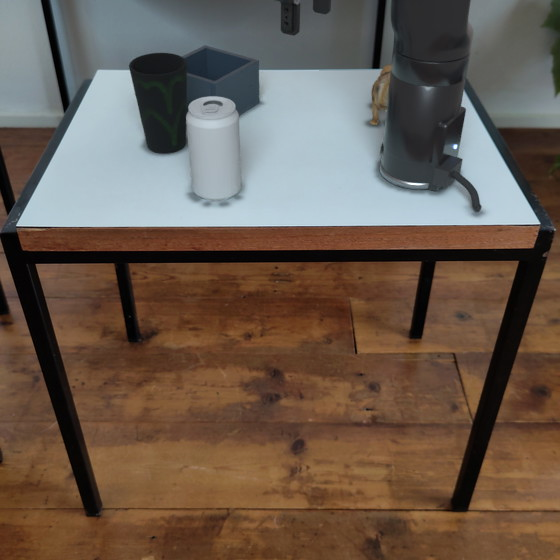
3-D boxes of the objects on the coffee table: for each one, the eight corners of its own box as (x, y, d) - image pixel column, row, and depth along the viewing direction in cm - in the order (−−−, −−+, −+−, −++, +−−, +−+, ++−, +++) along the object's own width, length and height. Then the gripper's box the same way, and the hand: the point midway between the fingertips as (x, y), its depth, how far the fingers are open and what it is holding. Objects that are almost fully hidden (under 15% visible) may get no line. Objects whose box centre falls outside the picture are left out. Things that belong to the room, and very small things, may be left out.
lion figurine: (406, 137, 106) (413, 78, 100) (369, 136, 106) (374, 77, 101) (399, 94, 117) (406, 39, 112) (366, 93, 118) (371, 38, 112)
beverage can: (244, 179, 97) (242, 95, 89) (237, 205, 92) (234, 118, 84) (197, 176, 97) (190, 92, 90) (187, 203, 92) (180, 116, 85)
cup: (129, 151, 102) (117, 70, 95) (155, 128, 108) (145, 49, 100) (178, 161, 100) (170, 78, 93) (202, 136, 106) (196, 56, 98)
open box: (259, 103, 115) (259, 60, 110) (217, 128, 108) (215, 84, 104) (207, 86, 119) (204, 45, 115) (164, 110, 113) (159, 67, 108)
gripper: (312, -109, 74) (307, 48, 84) (368, -132, 83) (357, 11, 94) (249, -117, 76) (251, 35, 87) (310, -139, 86) (305, 1, 96)
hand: (306, 22), depth 90 cm, fingers open, 8 cm apart
